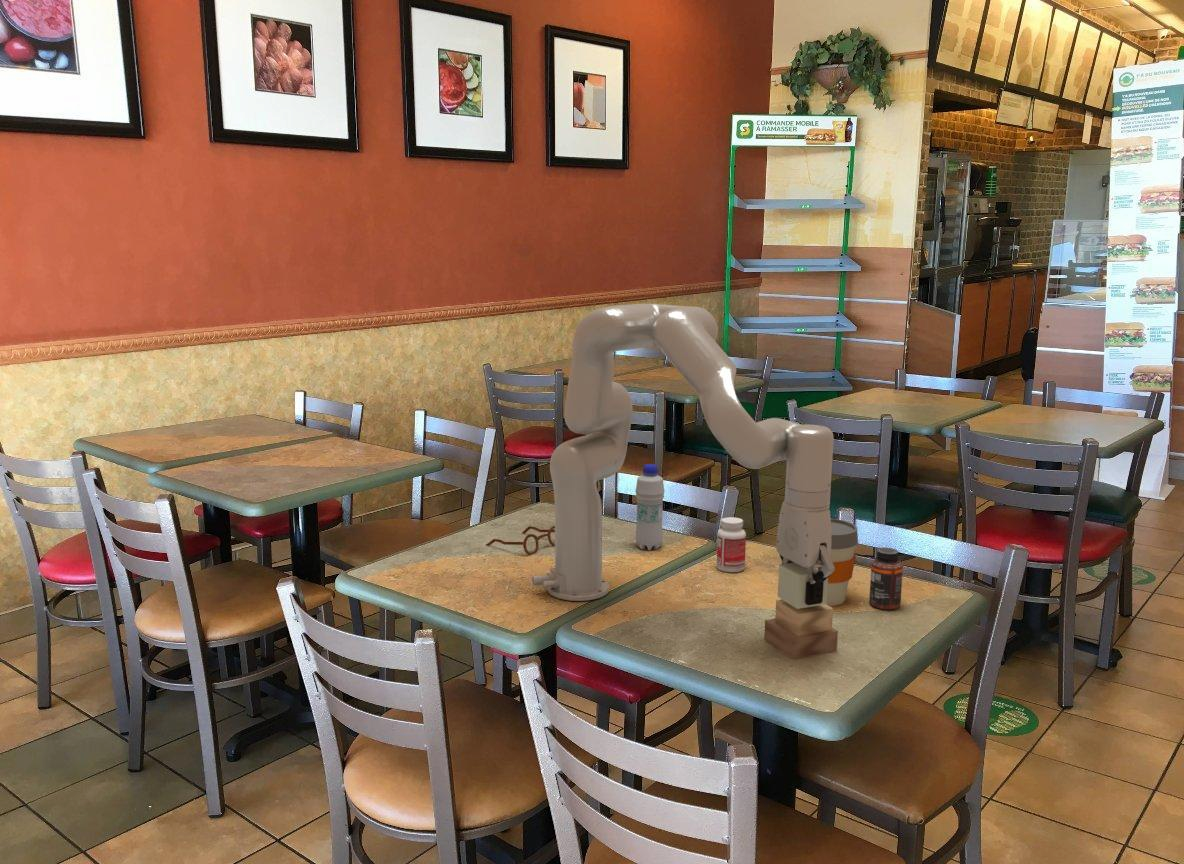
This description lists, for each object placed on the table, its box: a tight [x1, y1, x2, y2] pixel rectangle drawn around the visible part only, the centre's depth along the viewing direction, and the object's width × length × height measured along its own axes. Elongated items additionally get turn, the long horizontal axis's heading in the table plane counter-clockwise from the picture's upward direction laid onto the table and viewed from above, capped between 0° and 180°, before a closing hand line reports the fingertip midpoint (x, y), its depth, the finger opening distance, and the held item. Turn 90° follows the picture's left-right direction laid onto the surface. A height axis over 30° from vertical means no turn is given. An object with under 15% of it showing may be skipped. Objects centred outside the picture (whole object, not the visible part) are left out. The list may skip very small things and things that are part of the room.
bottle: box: [635, 463, 665, 551], centre depth 218 cm, size 7×7×20 cm
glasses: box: [485, 525, 555, 556], centre depth 222 cm, size 13×13×5 cm
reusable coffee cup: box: [815, 518, 859, 607], centre depth 188 cm, size 13×13×15 cm
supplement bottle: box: [868, 547, 904, 611], centre depth 184 cm, size 6×6×11 cm
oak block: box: [774, 599, 834, 636], centre depth 166 cm, size 7×7×4 cm
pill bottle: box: [716, 516, 747, 573], centre depth 205 cm, size 6×6×11 cm
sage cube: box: [777, 562, 828, 609], centre depth 164 cm, size 6×6×6 cm
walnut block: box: [763, 618, 839, 660], centre depth 166 cm, size 9×9×4 cm
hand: (801, 595), depth 164 cm, fingers closed on sage cube, 6 cm apart
